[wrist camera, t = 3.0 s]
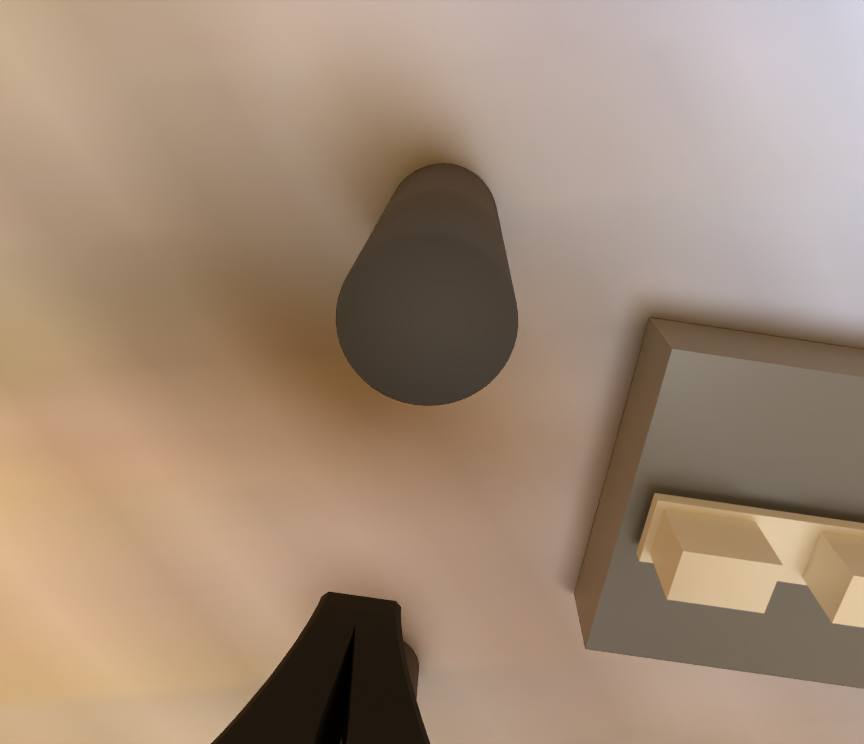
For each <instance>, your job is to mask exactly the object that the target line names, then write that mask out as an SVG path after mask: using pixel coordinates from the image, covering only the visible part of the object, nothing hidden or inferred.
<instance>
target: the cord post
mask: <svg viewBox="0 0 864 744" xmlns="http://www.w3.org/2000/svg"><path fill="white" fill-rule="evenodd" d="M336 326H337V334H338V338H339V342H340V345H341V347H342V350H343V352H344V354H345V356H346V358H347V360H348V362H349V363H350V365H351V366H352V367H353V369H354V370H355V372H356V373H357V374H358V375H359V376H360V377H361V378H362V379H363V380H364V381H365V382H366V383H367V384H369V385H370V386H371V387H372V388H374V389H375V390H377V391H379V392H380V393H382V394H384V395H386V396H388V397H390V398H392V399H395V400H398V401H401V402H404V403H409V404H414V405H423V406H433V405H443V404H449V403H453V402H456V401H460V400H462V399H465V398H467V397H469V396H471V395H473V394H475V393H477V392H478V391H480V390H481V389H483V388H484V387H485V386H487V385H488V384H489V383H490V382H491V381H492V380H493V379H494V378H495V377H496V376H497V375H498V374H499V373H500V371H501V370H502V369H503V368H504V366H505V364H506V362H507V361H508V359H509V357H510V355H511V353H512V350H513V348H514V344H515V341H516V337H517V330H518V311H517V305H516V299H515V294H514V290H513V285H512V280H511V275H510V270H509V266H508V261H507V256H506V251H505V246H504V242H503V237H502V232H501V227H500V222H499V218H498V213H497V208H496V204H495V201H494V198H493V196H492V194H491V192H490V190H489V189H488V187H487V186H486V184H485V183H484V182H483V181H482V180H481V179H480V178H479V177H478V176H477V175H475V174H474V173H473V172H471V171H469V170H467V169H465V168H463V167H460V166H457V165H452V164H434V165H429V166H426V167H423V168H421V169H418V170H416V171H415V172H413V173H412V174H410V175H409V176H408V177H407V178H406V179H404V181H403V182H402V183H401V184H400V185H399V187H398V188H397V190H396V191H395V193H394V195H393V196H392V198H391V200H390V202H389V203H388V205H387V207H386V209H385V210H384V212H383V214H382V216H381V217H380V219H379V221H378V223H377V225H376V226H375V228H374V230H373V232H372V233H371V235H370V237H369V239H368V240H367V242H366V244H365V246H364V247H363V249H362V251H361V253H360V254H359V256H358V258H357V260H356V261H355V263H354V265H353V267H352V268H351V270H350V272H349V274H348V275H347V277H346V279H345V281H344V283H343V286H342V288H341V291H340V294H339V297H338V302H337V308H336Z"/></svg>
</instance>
